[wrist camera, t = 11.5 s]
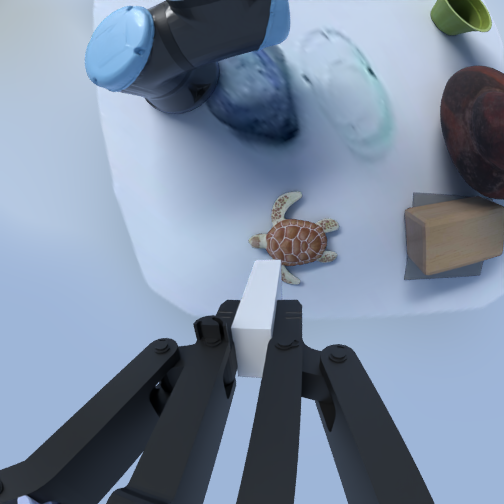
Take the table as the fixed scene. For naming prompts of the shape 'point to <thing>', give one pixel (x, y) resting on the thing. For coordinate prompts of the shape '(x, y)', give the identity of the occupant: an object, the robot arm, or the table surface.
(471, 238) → the wooden block
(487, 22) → the plant pot
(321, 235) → the decorative turtle
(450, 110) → the jug
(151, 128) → the table surface
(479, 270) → the mat
